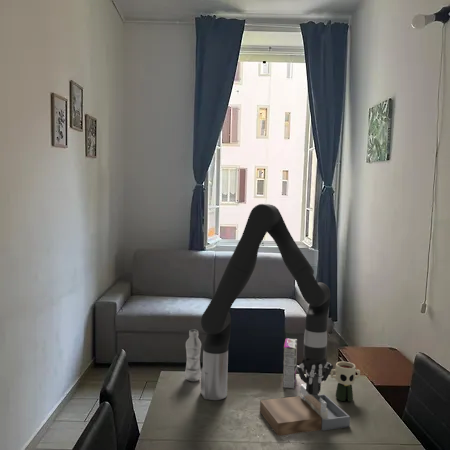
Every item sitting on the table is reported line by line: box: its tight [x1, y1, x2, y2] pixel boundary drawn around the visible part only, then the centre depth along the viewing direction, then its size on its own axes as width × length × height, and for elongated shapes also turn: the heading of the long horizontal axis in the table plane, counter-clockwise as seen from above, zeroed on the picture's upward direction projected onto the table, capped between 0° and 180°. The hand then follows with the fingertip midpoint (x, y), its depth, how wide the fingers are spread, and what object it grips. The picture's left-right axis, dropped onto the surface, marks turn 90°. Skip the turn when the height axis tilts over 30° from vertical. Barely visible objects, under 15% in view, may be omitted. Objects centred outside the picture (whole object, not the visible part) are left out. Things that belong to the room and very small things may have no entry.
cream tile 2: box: [314, 407, 328, 419], centre depth 151 cm, size 5×5×2 cm
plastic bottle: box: [184, 329, 202, 382], centre depth 181 cm, size 6×7×20 cm
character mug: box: [330, 361, 361, 402], centre depth 168 cm, size 11×7×13 cm, turn 91°
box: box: [300, 393, 351, 432], centre depth 155 cm, size 10×17×4 cm, turn 16°
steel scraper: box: [299, 374, 327, 413], centre depth 153 cm, size 2×15×9 cm, turn 16°
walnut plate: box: [259, 395, 322, 436], centre depth 151 cm, size 15×16×4 cm
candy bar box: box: [282, 337, 298, 390], centre depth 181 cm, size 11×5×16 cm, turn 168°
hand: (313, 393), depth 153 cm, fingers closed on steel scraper, 2 cm apart
